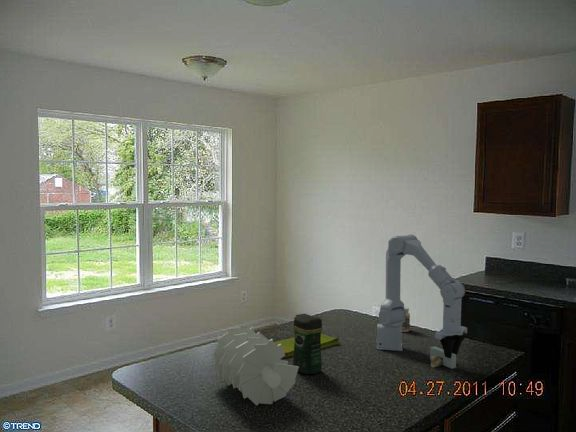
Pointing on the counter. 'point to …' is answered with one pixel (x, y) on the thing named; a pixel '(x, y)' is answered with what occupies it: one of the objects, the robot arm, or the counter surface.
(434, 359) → the birch board
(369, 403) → the counter surface
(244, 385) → the spiral staircase
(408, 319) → the pill bottle
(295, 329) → the coffee jar
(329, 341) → the dish towel
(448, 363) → the notched plate
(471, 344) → the counter surface
